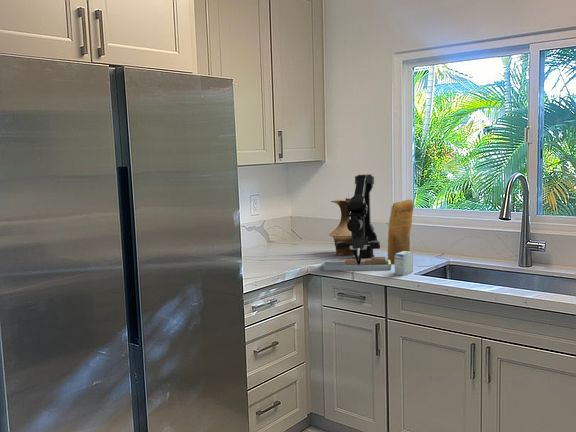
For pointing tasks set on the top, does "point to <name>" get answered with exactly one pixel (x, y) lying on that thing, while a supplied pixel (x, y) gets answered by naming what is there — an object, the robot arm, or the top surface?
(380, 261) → the block
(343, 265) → the trap box
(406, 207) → the pancake mix bag
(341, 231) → the pitcher
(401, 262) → the medicine box
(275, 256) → the top surface
